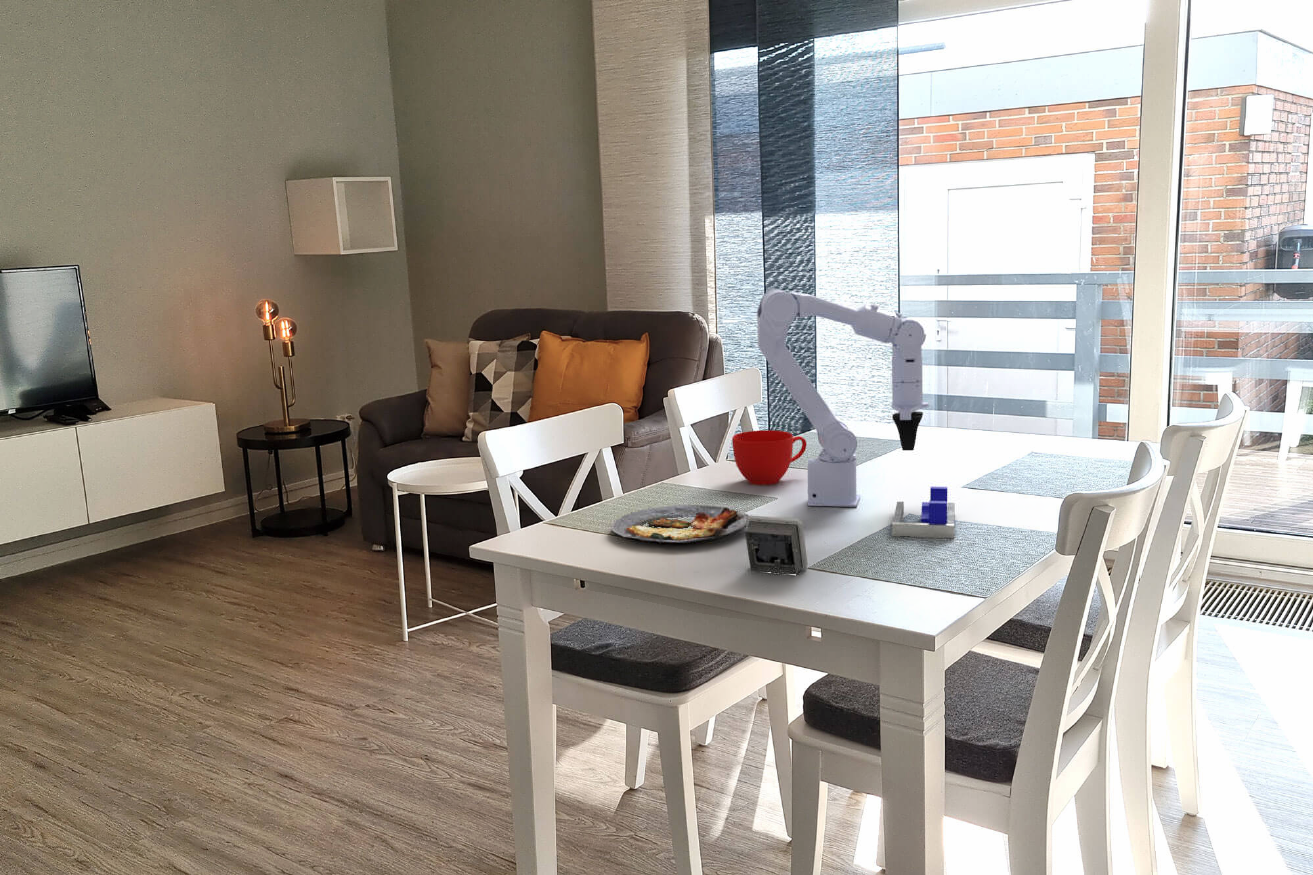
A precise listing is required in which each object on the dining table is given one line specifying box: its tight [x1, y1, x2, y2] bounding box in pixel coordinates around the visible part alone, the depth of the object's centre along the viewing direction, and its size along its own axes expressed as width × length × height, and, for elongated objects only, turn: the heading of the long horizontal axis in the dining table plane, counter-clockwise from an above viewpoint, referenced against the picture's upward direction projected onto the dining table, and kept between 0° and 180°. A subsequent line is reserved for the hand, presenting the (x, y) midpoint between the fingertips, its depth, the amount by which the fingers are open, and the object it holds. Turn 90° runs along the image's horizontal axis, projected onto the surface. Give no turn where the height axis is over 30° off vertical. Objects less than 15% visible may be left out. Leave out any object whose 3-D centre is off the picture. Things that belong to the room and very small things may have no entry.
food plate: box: [611, 503, 750, 544], centre depth 198 cm, size 25×23×4 cm
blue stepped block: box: [920, 486, 948, 524], centre depth 193 cm, size 12×4×6 cm, turn 165°
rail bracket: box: [891, 501, 956, 539], centre depth 194 cm, size 10×15×2 cm
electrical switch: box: [744, 515, 808, 576], centre depth 172 cm, size 9×5×9 cm, turn 65°
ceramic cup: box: [731, 430, 807, 486], centre depth 232 cm, size 13×17×10 cm
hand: (908, 449), depth 211 cm, fingers closed
